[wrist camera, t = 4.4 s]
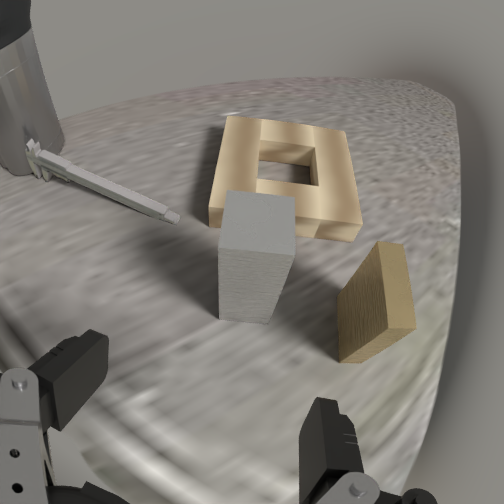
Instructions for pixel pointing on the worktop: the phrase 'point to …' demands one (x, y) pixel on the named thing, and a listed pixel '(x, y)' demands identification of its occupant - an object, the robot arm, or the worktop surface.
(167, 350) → the worktop surface
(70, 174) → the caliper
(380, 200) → the worktop surface
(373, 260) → the light brown wooden block
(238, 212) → the square bit
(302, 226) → the socket block
